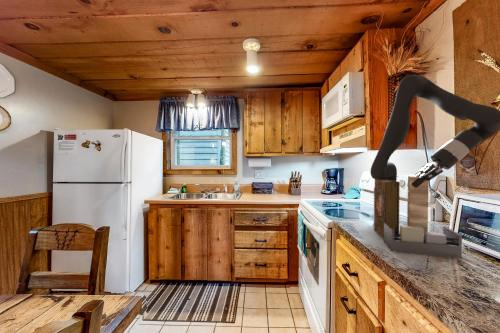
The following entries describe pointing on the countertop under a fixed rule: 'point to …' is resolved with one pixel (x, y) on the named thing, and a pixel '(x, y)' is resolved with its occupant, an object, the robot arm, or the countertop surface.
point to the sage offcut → (411, 234)
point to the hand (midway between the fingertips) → (411, 185)
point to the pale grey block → (434, 238)
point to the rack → (425, 244)
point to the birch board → (417, 204)
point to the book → (386, 205)
